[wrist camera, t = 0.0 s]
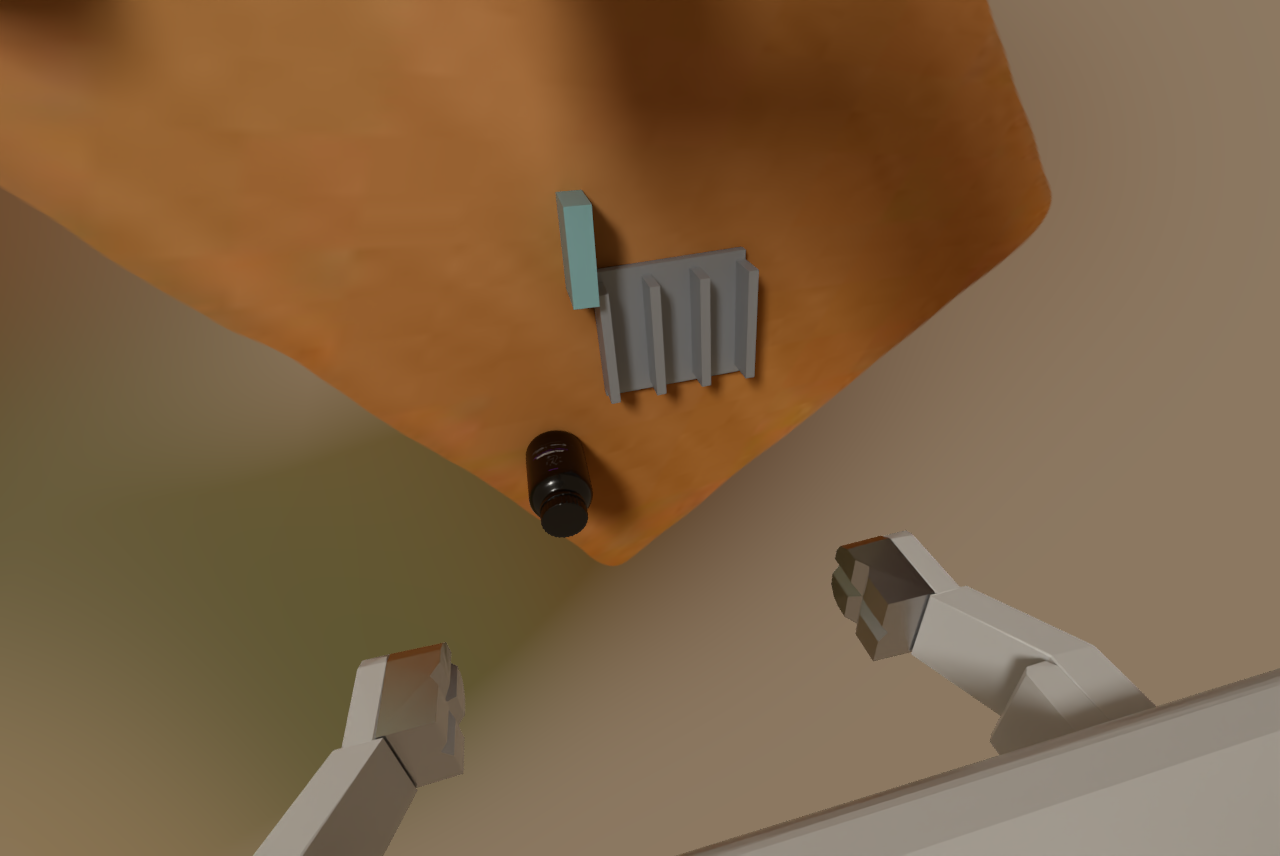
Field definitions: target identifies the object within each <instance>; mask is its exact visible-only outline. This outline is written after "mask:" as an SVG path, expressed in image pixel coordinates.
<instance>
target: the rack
mask: <svg viewBox="0 0 1280 856" xmlns="http://www.w3.org/2000/svg"><path fill="white" fill-rule="evenodd" d="M745 257H746V249H744V248H743V247H737V248H730V249H724V250H717V251H711V252H704V253H698V254H691V255H685V256H678V257H672V258H665V259H659V260H653V261H646V262H640V263H633V264H627V265H620V266H614V267H607V268H601V269H597V279H598V292H599V304H600V307H594V309H595V317H596V324H597V332H598V340H599V347H600V355H601V363H602V370H603V378H604V385H605V392H606V395H609V398H610V401H611V403H612V404H614V403H619V402H621V398H620V393H623V392H628V391H634V390H639V389H644V388H650V387H654V389H655V391H656V393H657V395H661V394H666V384H671V383H676V382H682V381H687V380H692V379H697V380H698V381H699V383H700V384H701V386H702V387H703V386H709V385H711V376H714V375H719V374H724V373H730V372H735V371H740V372H741V373H742V374H743V376H744V377H745V378H751V377H754V375H755V351H756V328H757V304H758V280H759V270H758V269H757V268H756V267H755V266H753V265H752V264H751V263H750V262H748V261H747V260H746V259H745Z"/></svg>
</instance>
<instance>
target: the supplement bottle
mask: <svg viewBox="0 0 1280 856" xmlns="http://www.w3.org/2000/svg"><path fill="white" fill-rule="evenodd" d="M526 468H527V481H528V493H529V502H530V506H531V508H532V510H533V511H534V512H535V514H537V515H538V516H539V517H540V518H541V525H542V526H543V529H544V530H545V532H547V533H548V534H550V535H551V536H555V537H569V536H573V535H575V534H577V533H578V532H581V530H582V529H584V527H585V526H586V523H587V520H588V513H587V509H588V508H589V506H590V504H591V501H592V497H593V491H592V485H591V481H590V476H589V472H588V467H587V463H586V459H585V454H584V450H583V447H582V444H581V443H580V441H579V440H578V439H577V438H576V437H575V436H574V435H572V434H570V433H568V432H564V431H548V432H545V433H542V434H540V435H539V436H537V437H536V438H534V439H533V440H532V442H531V443H530V444H529V446H528V448H527V451H526Z"/></svg>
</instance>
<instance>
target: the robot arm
mask: <svg viewBox="0 0 1280 856" xmlns="http://www.w3.org/2000/svg"><path fill="white" fill-rule="evenodd" d="M835 559H836V561H837V562H838V564H839V567H838V568H837V569H836V570H835V571H834V573H833V574H832V583H831V585H832V590H833V595H834V598H835V600H836V602H837V605H838V607H839V608H840V610H841V612H842V613H843V615H844V616H845V617H846V618H848V619H850V620H852V621H853V622H855V623H857V627H856V635H857V637H858V638H859V640H860V641H861V643H862V645H863V646H864V648H865V649H866V651H867V652H868V654H869V655H870V657H871V659H872V660H873V661H876V660H880V659H884V658H888V657H893V656H897V655H901V654H905V653H909V652H912V653H911V654H912V655H913V656H915V657H916V658H917V659H919V660H920V661H922V662H923V663H925V664H926V665H928V666H929V667H930V668H932V669H933V670H935V671H936V672H938V673H939V674H941V675H942V676H944V677H945V678H946V679H948V680H949V681H951V682H952V683H954V684H955V685H957V686H958V687H959V688H961V689H962V690H964V691H965V692H967V693H968V694H970V695H971V696H973V697H974V698H975V699H977V700H978V701H980V702H981V703H983V704H984V705H986V706H987V707H989V708H990V709H991V710H993V711H994V712H996V713H998V714H999V715H1000V716H1001V717H1000V719H999V720H998V722H997V724H996V726H995V728H994V730H993V732H992V734H991V739H990V742H991V744H992V745H993V747H994V748H995V749H996V751H997V752H998V753H999V756H995V757H992V758H989V759H986V760H983V761H979V762H976V763H973V764H970V765H966V766H964V767H960V768H957V769H954V770H950V771H947V772H944V773H941V774H938V775H934V776H931V777H928V778H925V779H921V780H918V781H915V782H912V783H908V784H905V785H902V786H899V787H896V788H892V789H889V790H886V791H883V792H880V793H876V794H873V795H870V796H867V797H863V798H860V799H857V800H854V801H850V802H848V803H844V804H841V805H838V806H835V807H831V808H828V809H825V810H822V811H818V812H815V813H812V814H809V815H806V816H802V817H799V818H796V819H793V820H789V821H786V822H783V823H780V824H776V825H773V826H770V827H767V828H763V829H760V830H757V831H754V832H751V833H747V834H744V835H741V836H738V837H734V838H731V839H728V840H725V841H722V842H719V843H716V844H712V845H709V846H706V847H702V848H699V849H696V850H693V851H689V852H686V853H683V854H680V855H677V856H1280V668H1279V669H1276V670H1273V671H1269V672H1267V673H1263V674H1260V675H1257V676H1253V677H1250V678H1247V679H1244V680H1240V681H1237V682H1234V683H1231V684H1228V685H1224V686H1221V687H1218V688H1215V689H1212V690H1208V691H1205V692H1202V693H1199V694H1195V695H1193V696H1189V697H1186V698H1182V699H1179V700H1177V701H1173V702H1170V703H1166V704H1163V705H1160V706H1157V707H1156V706H1155V705H1154V704H1153V703H1152V702H1151V701H1150V700H1149V699H1148V698H1147V697H1146V696H1145V695H1144V694H1143V693H1142V692H1141V691H1140V690H1139V689H1138V688H1137V687H1136V686H1135V685H1134V684H1133V683H1132V682H1131V681H1130V680H1129V679H1128V678H1127V677H1126V676H1125V675H1124V674H1123V673H1122V672H1121V671H1120V670H1119V669H1118V668H1116V667H1115V666H1114V665H1113V664H1112V663H1111V662H1110V661H1109V660H1108V659H1107V658H1106V657H1105V656H1104V655H1103V654H1102V653H1101V652H1100V651H1099V650H1098V649H1097V648H1096V647H1095V646H1094V645H1092V644H1090V643H1087V642H1085V641H1083V640H1081V639H1079V638H1077V637H1075V636H1072V635H1070V634H1068V633H1066V632H1064V631H1062V630H1060V629H1058V628H1056V627H1053V626H1051V625H1049V624H1047V623H1045V622H1043V621H1041V620H1038V619H1036V618H1034V617H1032V616H1030V615H1028V614H1026V613H1024V612H1021V611H1019V610H1017V609H1015V608H1013V607H1011V606H1009V605H1007V604H1004V603H1002V602H1000V601H998V600H996V599H993V598H992V597H989V596H987V595H985V594H983V593H981V592H979V591H977V590H975V589H972V588H970V587H968V586H963V587H959V585H958V584H957V583H956V582H955V581H954V580H953V579H952V578H951V577H950V575H949V574H948V573H947V572H946V571H945V570H944V569H943V568H942V567H941V565H940V564H939V563H938V562H937V561H936V560H935V559H934V558H933V557H932V555H931V554H930V553H929V552H928V551H927V550H926V549H925V548H924V547H923V546H922V544H921V543H920V542H919V541H918V540H917V539H916V538H915V537H914V536H913V534H912V533H910V532H908V531H901V532H897V533H893V534H889V535H885V536H878V537H874V538H870V539H866V540H863V541H859V542H855V543H851V544H847V545H843V546H840V547H839V548H838V549H837V551H836V557H835ZM464 716H465V695H464V685H463V681H462V677H461V674H460V671H459V669H458V666H456V665H453V664H451V651H450V649H449V647H448V645H447V643H446V642H445V643H440V644H436V645H431V646H426V647H422V648H417V649H413V650H407V651H403V652H398V653H394V654H389V655H384V656H380V657H376V658H372V659H367V660H363V661H362V662H361V665H360V666H359V668H358V670H357V675H356V679H355V684H354V689H353V695H352V699H351V704H350V709H349V714H348V719H347V724H346V729H345V734H344V739H343V744H342V748H340V749H336V750H333V751H332V753H331V754H330V755H329V757H328V758H327V759H326V761H325V762H324V763H323V764H322V766H321V767H320V768H319V770H318V771H317V772H316V774H315V775H314V776H313V778H312V779H311V780H310V782H309V783H308V784H307V785H306V787H305V788H304V789H303V791H302V792H301V793H300V795H299V796H298V797H297V799H296V800H295V801H294V803H293V804H292V805H291V807H290V808H289V809H288V811H287V812H286V813H285V814H284V816H283V817H282V818H281V820H280V821H279V822H278V824H277V825H276V826H275V828H274V829H273V830H272V832H271V833H270V834H269V835H268V837H267V838H266V839H265V841H264V842H263V843H262V845H261V846H260V847H259V849H258V850H257V851H256V853H255V854H254V855H253V856H383V855H384V853H385V851H386V849H387V847H388V846H389V844H390V842H391V840H392V838H393V836H394V834H395V832H396V830H397V829H398V827H399V825H400V823H401V821H402V819H403V817H404V815H405V813H406V811H407V809H408V808H409V806H410V804H411V802H412V800H413V798H414V796H415V794H416V792H417V789H416V788H417V787H421V786H424V785H427V784H431V783H434V782H437V781H440V780H443V779H447V778H450V777H454V776H457V775H460V774H463V770H464V736H463V734H462V732H461V730H460V728H459V723H460V722H461V720H462V719H463V717H464Z"/></svg>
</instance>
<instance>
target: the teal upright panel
mask: <svg viewBox="0 0 1280 856" xmlns="http://www.w3.org/2000/svg"><path fill="white" fill-rule="evenodd" d="M556 201H557V210H558V219H559V228H560V238H561V247H562V256H563V265H564V274H565V283H566V289H567V292H568V295H569V297H570V300H571V303H572V306H573V309H574V310H575V309H583V308H592V307H600V304H599V292H598V279H597V266H596V253H595V240H594V227H593V214H592V204H591V203H590V201H589V200H588V198H587V197H586V195H585V194H584V193H583V191H582V190H574V191H562V192H556Z"/></svg>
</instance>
